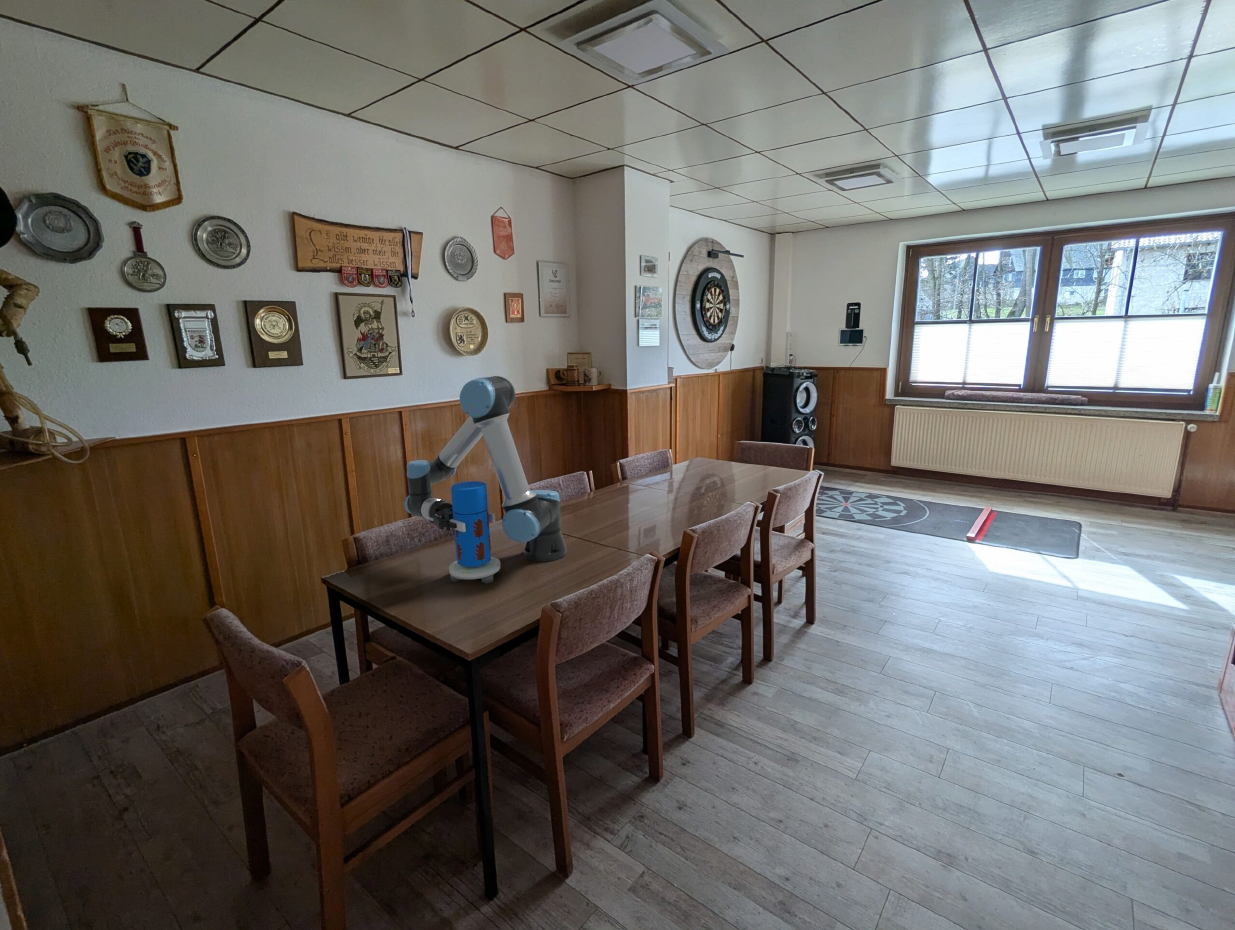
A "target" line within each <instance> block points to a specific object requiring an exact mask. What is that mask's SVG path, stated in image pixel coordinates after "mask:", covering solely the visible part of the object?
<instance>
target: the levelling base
mask: <svg viewBox="0 0 1235 930" xmlns="http://www.w3.org/2000/svg"><path fill="white" fill-rule="evenodd" d="M500 569H501V561H500V559H498V558H497V557H494V556H491V560H490V561H489V562H488V563H486V564H484V565H481V566H476V567H464V566H461V565H459V564H458V562H457V560H455V561H453V562H451V564H450V565H449V567H448V570H449V575H450V576H449V577H450V581H451V582H453V583H457V582H461V581H462V580H476V579H481V583H482V584H491V583H493V582H494V575H495V574H496V573H498V572H499V571H500Z"/></svg>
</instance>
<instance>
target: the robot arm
mask: <svg viewBox="0 0 1235 930" xmlns="http://www.w3.org/2000/svg"><path fill="white" fill-rule="evenodd" d="M515 399H516V390H515V388H514V385H513V384H512V382H510V380H508V378H507V377H503V376H501V375H493V376H486V377H485V376H483V377H478V378H474V379H472V380H469V381H467V382H466V383H465V384H464V385H463V386H462V389H461V390H460V393H459V404H460V408H461V409H462V411H463V412H464V413H465V414H466V415H467V416H468V417H467V419H466V420H465V422H464V423H463V424H462V425H461V426H460V427H459V429H457V431H456V433H455V434H454V435H453V437H452V438H451V439H450V440H449V441H448V442H447V444H446V445H445V446H444V448H443V449H442V450H441V451H440V452H439V454H438V455H437V456H436V458H435V459H434V460H433V461H429V460H425V459H417V460H411V461H409V462H408V463H407V464H406V477H407V478H406V479H407V487H408V495H407V496H406V498H405V500H404V504H403V505H404V509H405V511H406V512H407V513H408V514H411V515H412V516H415V517H418V518H423V519H426V520H429V521H430V523H431V524H434V525H435V526H436V527H437V528H438V529H439V530H444V529H446V530H445V531H451V529H453V530H454V529H455V530H458V531H462V532H466V529H465V523H463V522H460V521H456V520H453V509H452V502H450V501H447V500H442V499H439V498H435V497H433V487H432V486H433V485H434V484H437V483H439V482H441V481H444V480H447V479H450V478H451V477H452V476H454V475H455V474H456V473H457V469H458V466H459V465H460V463H461V462H462V461H463V460H464V459H465V458H466V456H467V455H468V454H469V452H470V451H471V450H472V448H474V446H475V445H476V444H477V443H478V442H479V441H480V439H481V438H482V437H483V439H484V443H485V444H486V445H485V446H486V447H487V448H486V449H487V451H488V453H489V456H490V459H491V462H492V466H493V468H494V471H495V475H496V477H497V479H498V483H499V486H500V490H501V491H502V495H503V498H504V500H503V502H502V504H501V508H502V509H503V513H504V515H503V517H502V519H501V527H502V530H503V532H504V534H505V535H506V536H507V537H508V539H510V540H512V541H514V542H516V543H524V546H523V556H524V558H525V559H526V560H529V561H533V562H550V561H555V560H559V559H562V558H564V557H565V556H566V555H567V543H566V542H565V540H564V536H563V534H562V530H561V529H562V528H561V526H562V525H561V500H560V494H559V492H558V491H555V490H549V489H535V490H533V489H532V490H531V489H530V487H529V483H528V480H527V477H526V474H525V471H524V467H523V466H522V463H521V460H520V456H519V453H518V451H517V446H516V444H515V442H514V438H513V435H512V432H511V430H510V426H509V423H508V418H509V416H510V411H509V409H510V408H511V407H512V405H513V404H514V402H515ZM488 515H489V523H496V515H495V513H493V512H489V511H488Z"/></svg>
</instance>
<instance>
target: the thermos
mask: <svg viewBox="0 0 1235 930" xmlns="http://www.w3.org/2000/svg"><path fill="white" fill-rule="evenodd" d="M487 489H488V488H487V483H485V482H483V481H474V480H473V481H470V480H469V481H463V482H462V481H461V482H458V483H454V484H452V485H451V490H450V493H451V494H450V495H451V504H452V509H453V520H456V521H460V522H463V523H465V529H466V532H462V531H458V530H455V529H453V531H454V532H453V533H454V544H455V553H456V561H457V562H458V564H459V565H461V566H464V567H476V566H481V565H484V564H486V563H488V562H489V561H490V560H491V557H492V555H491V554H492V553H491V552H492V551H491V549H492V548H491V535H490V534H491V532H490V522H489V515H488V512H489V506H488V505H489V503H488V490H487Z"/></svg>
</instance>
